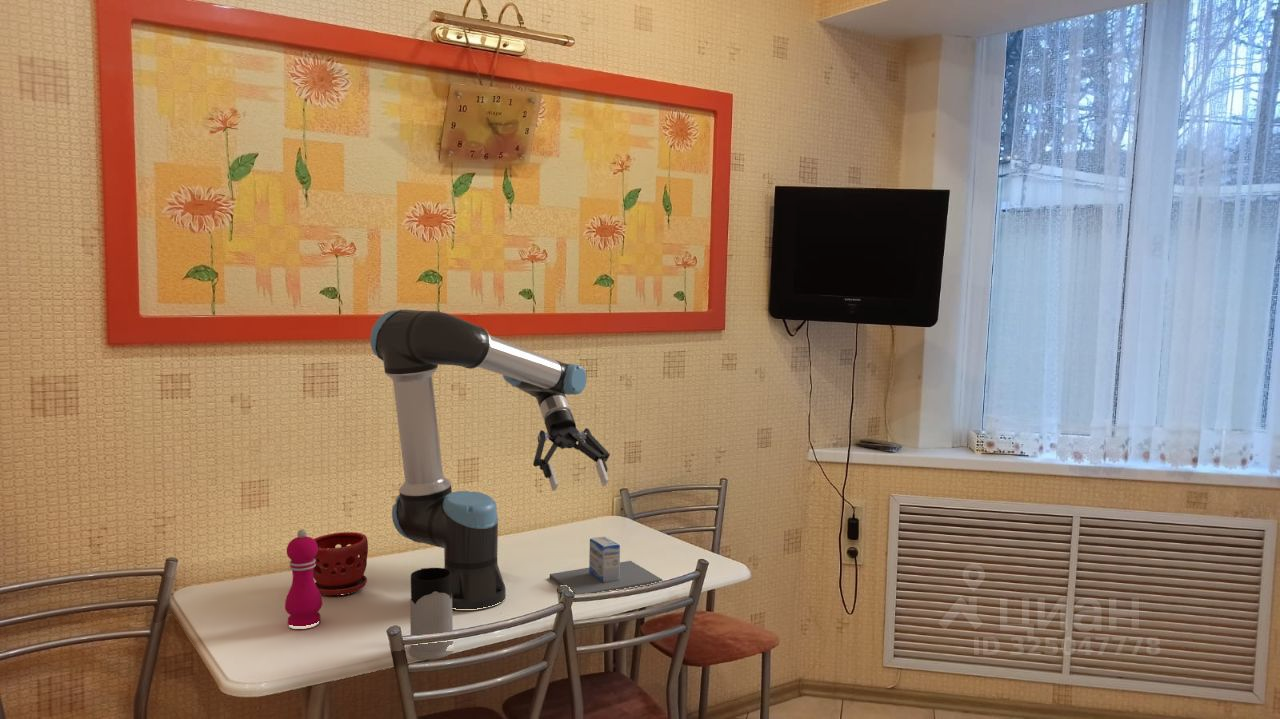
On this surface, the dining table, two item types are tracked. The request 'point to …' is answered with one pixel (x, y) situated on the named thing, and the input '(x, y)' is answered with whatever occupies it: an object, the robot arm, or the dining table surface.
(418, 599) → the glass holder
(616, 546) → the medicine box
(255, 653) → the dining table surface
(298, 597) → the pepper mill
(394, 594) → the dining table surface
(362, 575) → the plant pot
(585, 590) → the rubber mat
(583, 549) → the dining table surface
